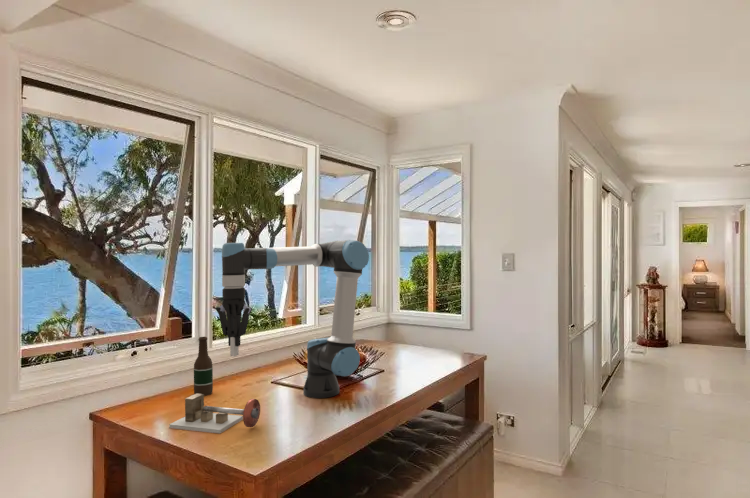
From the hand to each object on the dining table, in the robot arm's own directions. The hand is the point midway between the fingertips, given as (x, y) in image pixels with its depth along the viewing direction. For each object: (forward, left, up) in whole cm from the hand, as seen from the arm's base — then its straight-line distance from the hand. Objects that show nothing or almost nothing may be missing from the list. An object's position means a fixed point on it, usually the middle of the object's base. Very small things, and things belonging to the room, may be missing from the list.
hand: (234, 355), depth 168 cm
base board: (+11, 0, -24) cm, 27 cm away
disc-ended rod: (+2, 0, -24) cm, 24 cm away
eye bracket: (+11, 0, -23) cm, 25 cm away
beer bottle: (+35, -30, -25) cm, 52 cm away
